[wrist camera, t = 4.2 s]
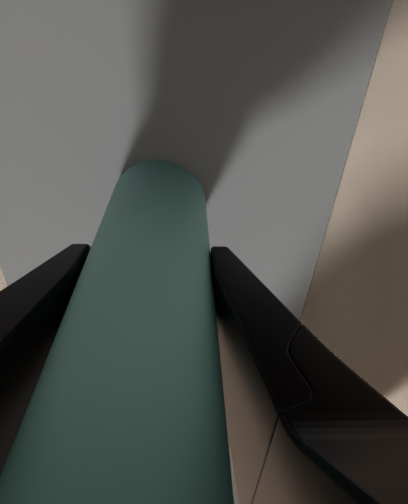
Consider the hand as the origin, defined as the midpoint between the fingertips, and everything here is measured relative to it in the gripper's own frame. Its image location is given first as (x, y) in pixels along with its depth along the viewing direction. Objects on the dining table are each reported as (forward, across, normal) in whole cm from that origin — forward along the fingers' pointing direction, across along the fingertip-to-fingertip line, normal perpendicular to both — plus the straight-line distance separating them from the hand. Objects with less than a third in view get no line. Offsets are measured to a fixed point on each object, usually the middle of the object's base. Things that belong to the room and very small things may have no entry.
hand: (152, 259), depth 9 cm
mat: (+4, 0, 0) cm, 4 cm away
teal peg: (+3, 0, 0) cm, 3 cm away
